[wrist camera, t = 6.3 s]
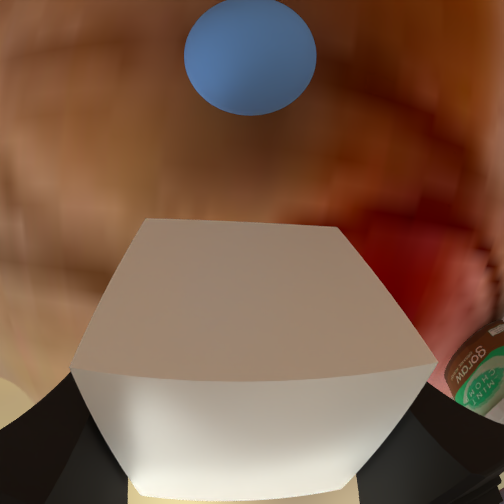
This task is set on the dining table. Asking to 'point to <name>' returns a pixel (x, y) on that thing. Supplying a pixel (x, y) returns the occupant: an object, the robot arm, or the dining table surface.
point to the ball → (250, 56)
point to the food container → (480, 372)
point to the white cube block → (246, 361)
